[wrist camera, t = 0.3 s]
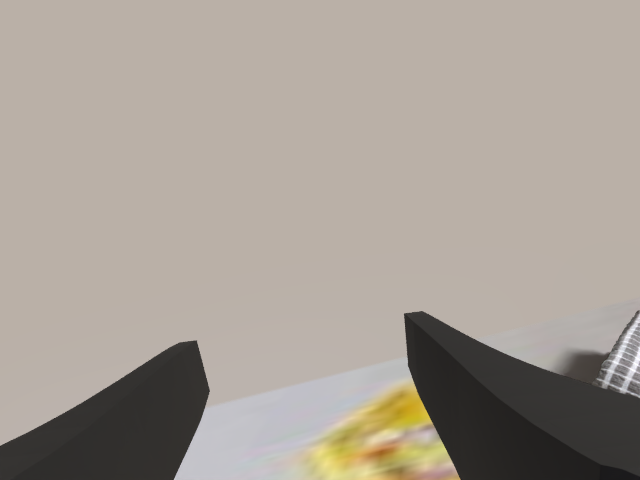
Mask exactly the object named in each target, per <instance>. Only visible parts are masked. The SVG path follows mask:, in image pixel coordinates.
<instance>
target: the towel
mask: <svg viewBox="0 0 640 480" xmlns="http://www.w3.org/2000/svg"><path fill="white" fill-rule="evenodd" d="M592 385H594V386H597V387H601V388H605V389H608V390H612V391H615V392H619V393H623V394H627V395H631V396H635V397H639V398H640V310H638V311H637V312H636V314H635V316H634V317H633V318H632V319H631V321H630V323H628V324H627V327H626V328H625V329H624V331H623V332H622V335H620V337H619V339H618V341H616V344H615V345H614V347H613V349H612V351H611V353H610V354H609V356H608V358H607V360H606V361H604V362H603V363H602V364H601V369H600V371H599V373H598V376H597V378H595V379H594V382H593V383H592Z"/></svg>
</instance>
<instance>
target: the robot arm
mask: <svg viewBox="0 0 640 480" xmlns="http://www.w3.org/2000/svg"><path fill="white" fill-rule="evenodd" d="M404 318H405V331H406V343H407V356H408V367H409V369H410V372H411V375H412V378H413V381H414V384H415V386H416V389H417V392H418V394H419V396H420V398H421V400H422V402H423V404H424V406H425V408H426V410H427V412H428V414H429V416H430V418H431V420H432V422H433V424H434V426H435V428H436V430H437V432H438V434H439V436H440V438H441V440H442V442H443V444H444V446H445V448H446V450H447V452H448V454H449V456H450V458H451V460H452V462H453V464H454V466H455V468H456V470H457V473H458V475H459V477H460V479H461V480H640V398H639V397H635V396H631V395H627V394H623V393H619V392H615V391H612V390H608V389H605V388H601V387H597V386H594V385H591V384H587V383H584V382H581V381H578V380H575V379H572V378H568V377H565V376H562V375H559V374H556V373H553V372H550V371H547V370H545V369H542V368H539V367H537V366H534V365H532V364H529V363H526V362H524V361H521V360H519V359H516V358H514V357H511V356H509V355H507V354H504V353H502V352H500V351H498V350H496V349H494V348H491V347H489V346H487V345H485V344H483V343H481V342H479V341H477V340H475V339H473V338H471V337H469V336H467V335H465V334H463V333H461V332H460V331H458V330H456V329H454V328H452V327H450V326H449V325H447V324H445V323H443V322H441V321H439V320H438V319H436V318H434V317H432V316H431V315H429V314H427V313H425V312H423V311H420V312H412V313H405V314H404ZM209 392H210V390H209V386H208V382H207V378H206V375H205V371H204V367H203V363H202V359H201V356H200V351H199V348H198V344H197V341H188V342H181V343H178V344H176V345H174V346H172V347H170V348H168V349H167V350H165V351H163V352H162V353H160V354H159V355H157V356H156V357H154V358H152V359H151V360H149V361H148V362H146V363H145V364H143V365H142V366H140V367H138V368H137V369H136V370H134V371H132V372H131V373H129V374H128V375H126V376H125V377H123V378H121V379H120V380H118V381H117V382H115V383H113V384H112V385H110V386H109V387H107V388H105V389H104V390H102V391H100V392H99V393H97V394H96V395H94V396H92V397H91V398H89V399H88V400H86V401H84V402H83V403H81V404H79V405H77V406H76V407H74V408H72V409H70V410H69V411H67V412H65V413H63V414H62V415H60V416H58V417H56V418H54V419H52V420H51V421H49V422H47V423H45V424H43V425H41V426H39V427H37V428H35V429H34V430H32V431H30V432H28V433H26V434H24V435H22V436H20V437H18V438H16V439H13V440H11V441H9V442H7V443H5V444H3V445H1V446H0V480H174V478H175V475H176V473H177V471H178V469H179V467H180V465H181V463H182V460H183V458H184V456H185V454H186V452H187V450H188V447H189V445H190V443H191V441H192V439H193V436H194V434H195V432H196V430H197V428H198V425H199V423H200V421H201V418H202V415H203V412H204V409H205V405H206V402H207V399H208V395H209Z"/></svg>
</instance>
